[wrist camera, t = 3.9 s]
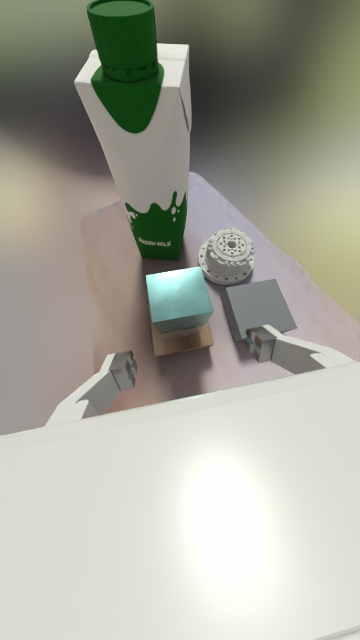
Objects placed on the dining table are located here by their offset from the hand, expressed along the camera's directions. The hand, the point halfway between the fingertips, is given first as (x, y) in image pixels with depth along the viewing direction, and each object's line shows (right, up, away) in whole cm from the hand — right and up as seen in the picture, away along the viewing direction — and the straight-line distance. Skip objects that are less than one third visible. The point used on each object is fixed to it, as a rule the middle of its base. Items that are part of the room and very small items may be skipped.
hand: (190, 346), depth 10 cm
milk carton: (-4, +17, +18) cm, 25 cm away
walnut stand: (-1, +1, +13) cm, 13 cm away
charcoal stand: (+11, +3, +14) cm, 18 cm away
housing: (-1, +2, +10) cm, 10 cm away
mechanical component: (+8, +13, +17) cm, 23 cm away
